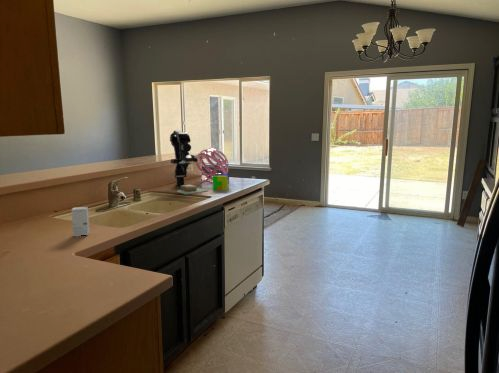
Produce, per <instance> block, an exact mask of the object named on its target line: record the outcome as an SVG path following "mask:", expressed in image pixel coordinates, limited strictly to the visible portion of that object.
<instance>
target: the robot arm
mask: <svg viewBox="0 0 499 373" xmlns="http://www.w3.org/2000/svg"><path fill="white" fill-rule="evenodd" d="M191 141H192V140H191V137H190V135H189V133H188V132H183V131H181V130H180V129H174V130H173V132H172V133H171V134H170V136H169V142H170V143H171V144H170V145H171V146H172V147H173V150H174V157H175V158H172V159H170V164H173V165H174V164H175V168H174V172H173V178H175V179H176V181H175V182H176V183H175V184H174V186H178V187H181V186H182V185H187V184H186V183H185V178H186V177H187V172H188V171H187V169H188V166H189V165H190V164H191V162H193V163H195V162H198V157H197V158H196V157H195V154H193V153H192V154H190V151H191V150H192V146H191Z"/></svg>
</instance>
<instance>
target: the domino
mask: <svg viewBox="0 0 499 373" xmlns="http://www.w3.org/2000/svg"><path fill="white" fill-rule="evenodd" d="M197 188H198V187H197V185H193V184H186V185H182V186H180V190H183V191H187V192H190V191H197Z"/></svg>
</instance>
